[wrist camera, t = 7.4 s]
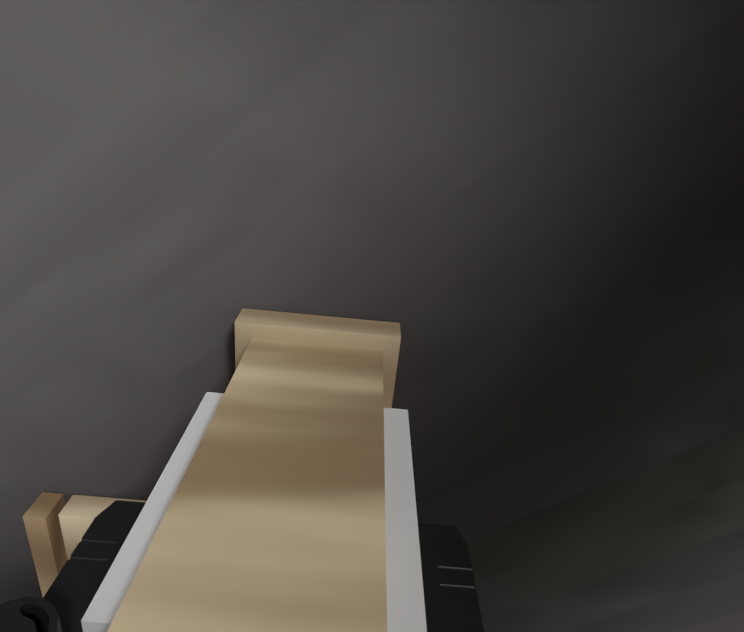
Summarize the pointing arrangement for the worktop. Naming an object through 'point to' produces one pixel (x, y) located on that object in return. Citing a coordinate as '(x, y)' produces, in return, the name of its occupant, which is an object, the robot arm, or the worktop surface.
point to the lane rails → (46, 537)
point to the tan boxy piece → (280, 490)
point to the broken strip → (81, 517)
